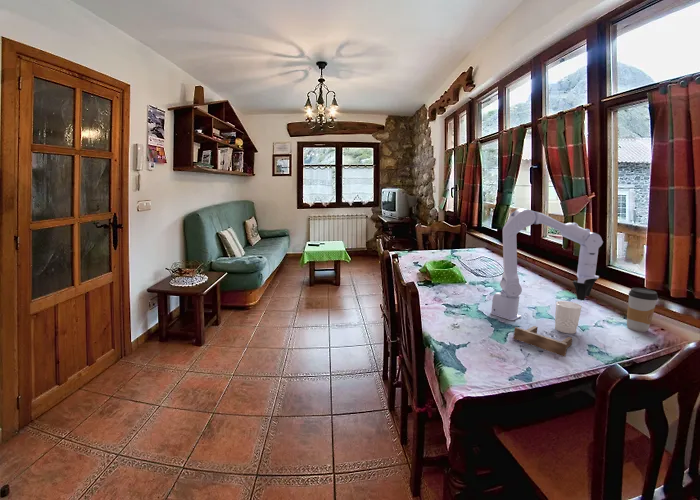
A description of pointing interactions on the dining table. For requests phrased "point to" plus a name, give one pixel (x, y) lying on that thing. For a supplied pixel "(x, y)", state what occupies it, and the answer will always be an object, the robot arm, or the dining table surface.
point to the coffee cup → (640, 308)
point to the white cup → (567, 316)
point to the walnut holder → (542, 340)
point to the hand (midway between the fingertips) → (583, 297)
